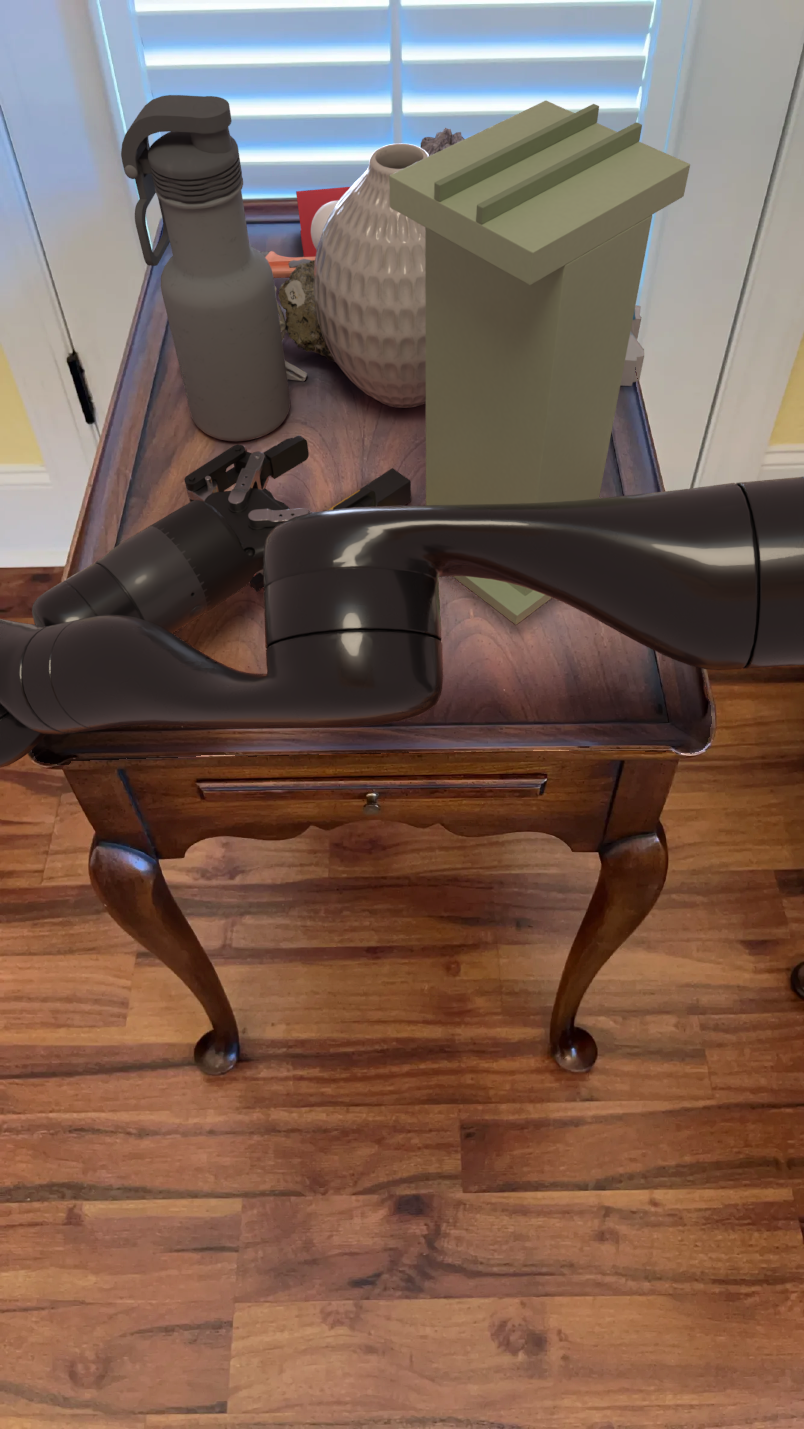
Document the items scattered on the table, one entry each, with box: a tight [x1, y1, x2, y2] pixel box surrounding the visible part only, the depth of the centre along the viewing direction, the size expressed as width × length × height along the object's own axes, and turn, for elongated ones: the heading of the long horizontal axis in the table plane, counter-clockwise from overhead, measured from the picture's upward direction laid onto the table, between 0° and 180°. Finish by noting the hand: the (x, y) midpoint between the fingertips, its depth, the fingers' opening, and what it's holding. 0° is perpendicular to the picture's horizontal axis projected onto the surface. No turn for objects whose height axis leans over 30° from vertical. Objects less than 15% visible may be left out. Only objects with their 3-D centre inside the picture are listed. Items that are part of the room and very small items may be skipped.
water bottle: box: [120, 94, 291, 442], centre depth 86 cm, size 10×10×28 cm
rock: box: [277, 260, 336, 363], centre depth 99 cm, size 6×9×10 cm
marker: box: [249, 467, 412, 592], centre depth 85 cm, size 17×2×2 cm, turn 134°
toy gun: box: [620, 304, 645, 387], centre depth 101 cm, size 3×14×10 cm
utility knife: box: [260, 250, 316, 279], centre depth 102 cm, size 4×1×18 cm
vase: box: [314, 142, 429, 409], centre depth 90 cm, size 16×16×22 cm
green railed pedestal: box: [389, 100, 691, 625], centre depth 73 cm, size 14×14×33 cm
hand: (338, 470), depth 80 cm, fingers open, 8 cm apart
